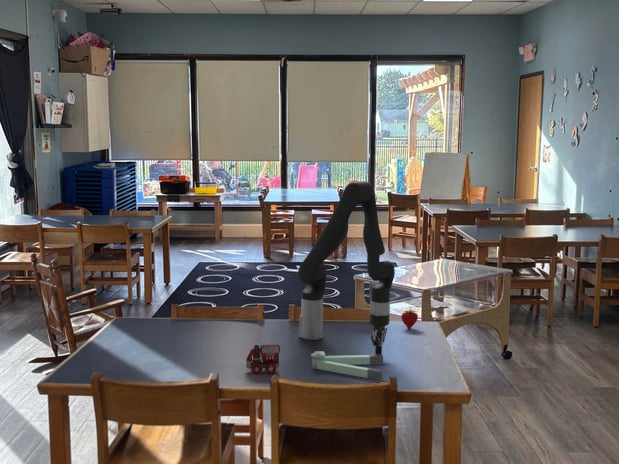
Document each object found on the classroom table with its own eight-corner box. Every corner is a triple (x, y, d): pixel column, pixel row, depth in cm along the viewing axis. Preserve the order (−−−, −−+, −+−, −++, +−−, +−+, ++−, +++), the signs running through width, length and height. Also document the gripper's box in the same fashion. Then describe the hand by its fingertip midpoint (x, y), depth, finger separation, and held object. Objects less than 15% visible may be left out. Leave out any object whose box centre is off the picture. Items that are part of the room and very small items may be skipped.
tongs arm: (311, 368, 263) (311, 356, 263) (309, 363, 269) (310, 351, 268) (384, 367, 266) (384, 355, 265) (381, 362, 271) (382, 350, 271)
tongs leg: (310, 368, 265) (310, 357, 264) (313, 365, 267) (313, 355, 267) (380, 380, 254) (380, 370, 253) (382, 378, 256) (382, 367, 256)
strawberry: (399, 326, 317) (400, 305, 316) (415, 326, 318) (416, 305, 316) (402, 330, 312) (403, 308, 310) (418, 330, 312) (420, 308, 311)
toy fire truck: (246, 367, 264) (246, 341, 262) (279, 367, 265) (279, 341, 263) (246, 374, 257) (246, 347, 255) (280, 374, 258) (280, 347, 256)
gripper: (376, 306, 280) (374, 348, 283) (365, 315, 268) (363, 358, 271) (394, 309, 277) (392, 351, 280) (383, 317, 265) (382, 361, 268)
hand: (378, 354), depth 276 cm, fingers closed
